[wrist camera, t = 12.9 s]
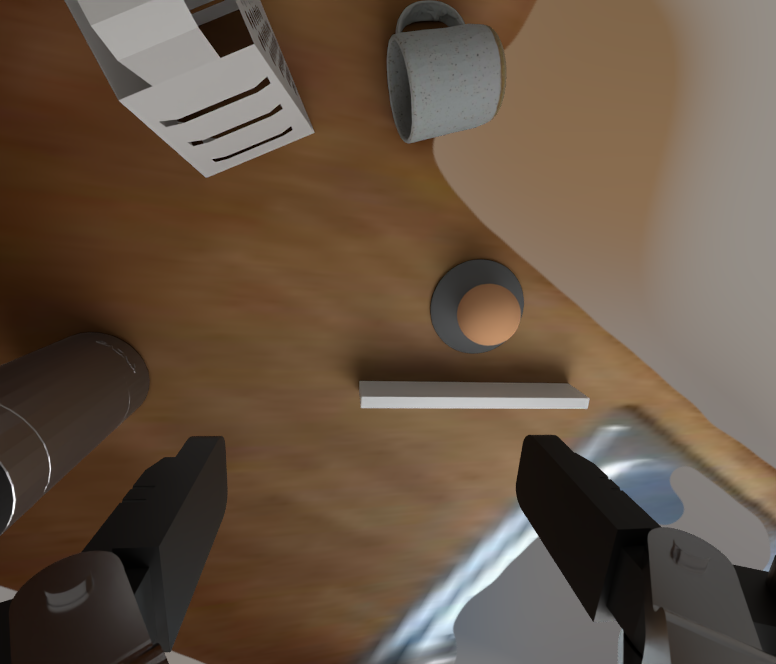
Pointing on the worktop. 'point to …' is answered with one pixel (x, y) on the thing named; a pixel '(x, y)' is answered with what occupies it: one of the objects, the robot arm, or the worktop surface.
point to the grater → (192, 76)
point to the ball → (488, 314)
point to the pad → (454, 290)
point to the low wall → (470, 395)
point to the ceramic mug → (443, 73)
